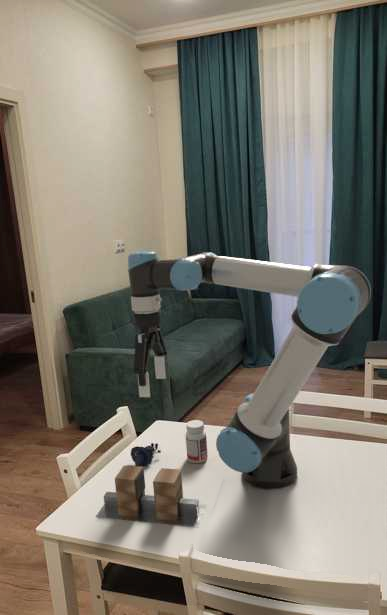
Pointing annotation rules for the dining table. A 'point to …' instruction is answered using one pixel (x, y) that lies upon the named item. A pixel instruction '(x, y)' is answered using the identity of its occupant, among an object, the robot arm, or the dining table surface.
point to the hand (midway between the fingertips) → (153, 387)
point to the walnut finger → (168, 493)
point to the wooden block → (129, 490)
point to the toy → (144, 454)
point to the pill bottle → (196, 441)
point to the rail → (154, 511)
